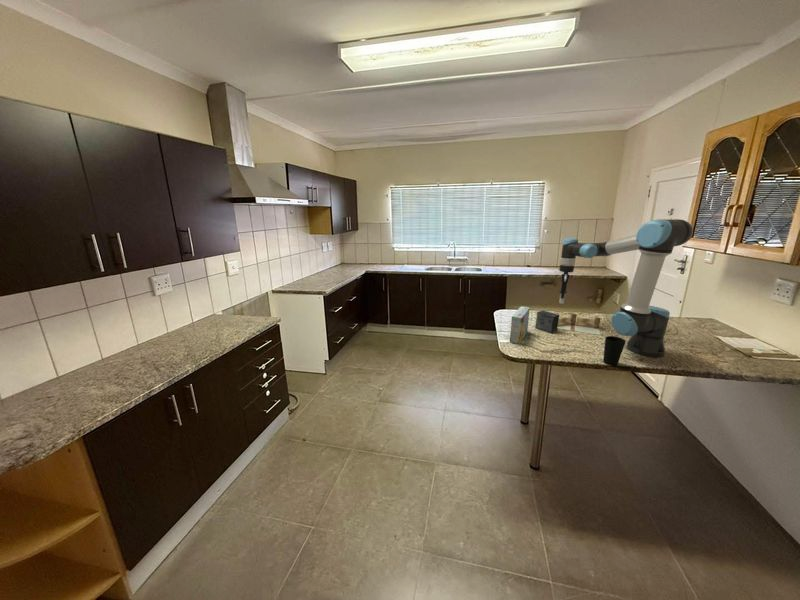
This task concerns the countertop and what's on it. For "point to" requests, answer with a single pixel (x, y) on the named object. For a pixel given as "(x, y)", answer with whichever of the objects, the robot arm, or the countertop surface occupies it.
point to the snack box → (519, 324)
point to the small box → (547, 321)
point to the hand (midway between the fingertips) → (561, 303)
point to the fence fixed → (585, 321)
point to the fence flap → (564, 321)
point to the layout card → (580, 329)
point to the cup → (613, 350)
